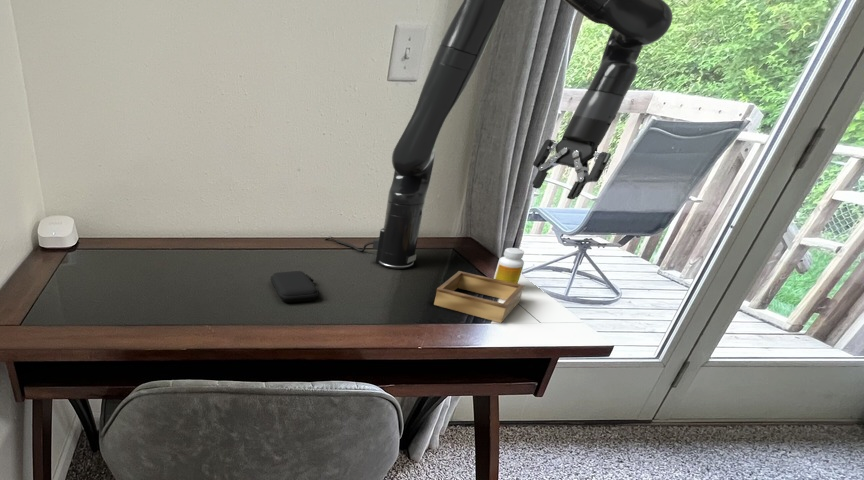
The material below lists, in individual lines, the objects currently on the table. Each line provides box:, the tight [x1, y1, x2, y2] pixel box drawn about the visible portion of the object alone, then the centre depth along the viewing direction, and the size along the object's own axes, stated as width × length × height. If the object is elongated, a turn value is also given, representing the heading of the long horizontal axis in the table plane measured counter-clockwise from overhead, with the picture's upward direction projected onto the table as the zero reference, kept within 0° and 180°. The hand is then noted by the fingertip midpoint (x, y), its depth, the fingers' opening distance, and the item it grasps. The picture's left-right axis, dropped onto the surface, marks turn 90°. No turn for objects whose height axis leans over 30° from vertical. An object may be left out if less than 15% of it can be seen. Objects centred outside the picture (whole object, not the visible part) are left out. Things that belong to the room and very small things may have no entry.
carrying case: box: [270, 270, 319, 303], centre depth 119 cm, size 11×3×15 cm
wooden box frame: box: [433, 270, 526, 324], centre depth 110 cm, size 15×14×4 cm
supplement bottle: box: [493, 247, 525, 284], centre depth 115 cm, size 5×5×10 cm
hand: (552, 193), depth 111 cm, fingers open, 8 cm apart
